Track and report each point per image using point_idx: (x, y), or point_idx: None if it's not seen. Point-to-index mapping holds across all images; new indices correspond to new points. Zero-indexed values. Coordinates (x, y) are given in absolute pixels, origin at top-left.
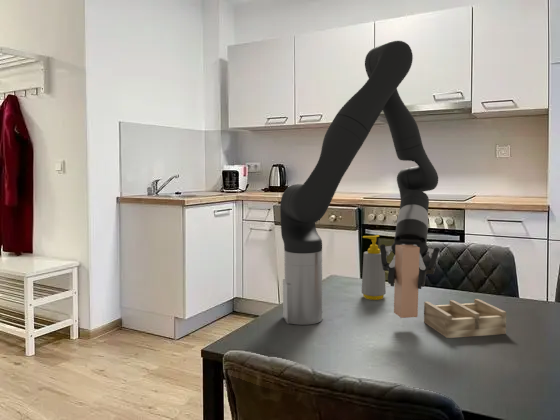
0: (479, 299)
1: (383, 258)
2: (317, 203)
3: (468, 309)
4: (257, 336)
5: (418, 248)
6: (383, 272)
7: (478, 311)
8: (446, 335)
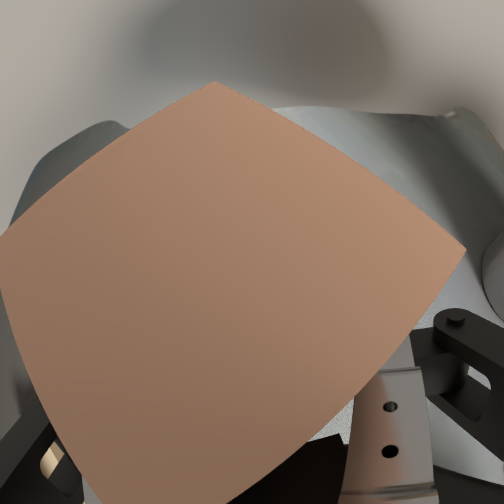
0: None
1: (492, 336)
2: None
3: (56, 445)
4: (482, 161)
5: (13, 241)
6: None
7: None
8: None
